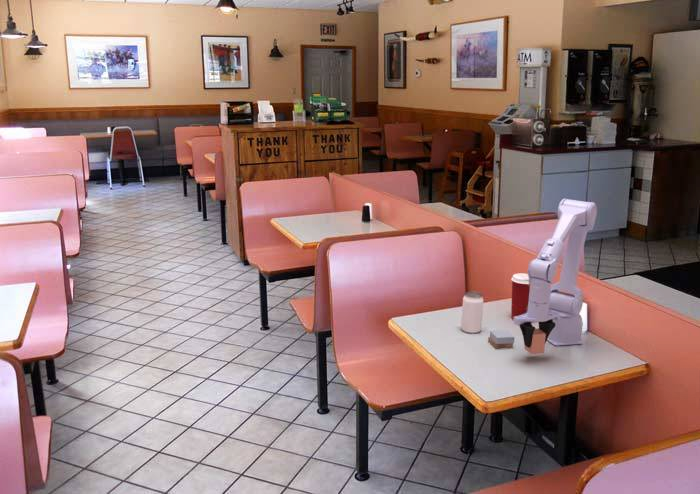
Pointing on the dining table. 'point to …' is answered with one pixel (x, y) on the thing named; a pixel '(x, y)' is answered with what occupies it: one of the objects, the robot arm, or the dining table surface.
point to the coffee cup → (520, 294)
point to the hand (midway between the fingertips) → (534, 345)
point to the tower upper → (501, 336)
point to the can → (472, 312)
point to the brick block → (537, 342)
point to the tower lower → (499, 346)
